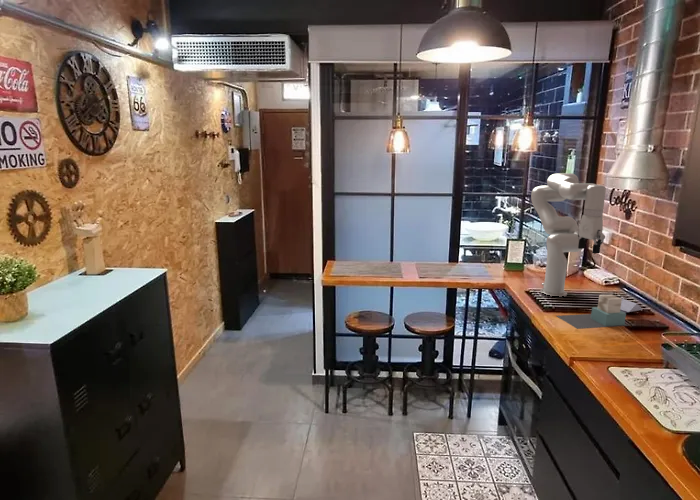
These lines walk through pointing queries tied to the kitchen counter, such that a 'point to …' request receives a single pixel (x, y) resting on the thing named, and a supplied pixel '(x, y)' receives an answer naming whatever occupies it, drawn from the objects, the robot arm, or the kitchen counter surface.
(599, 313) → the plinth
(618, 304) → the cream cube
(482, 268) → the kitchen counter surface
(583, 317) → the mat
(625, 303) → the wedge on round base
